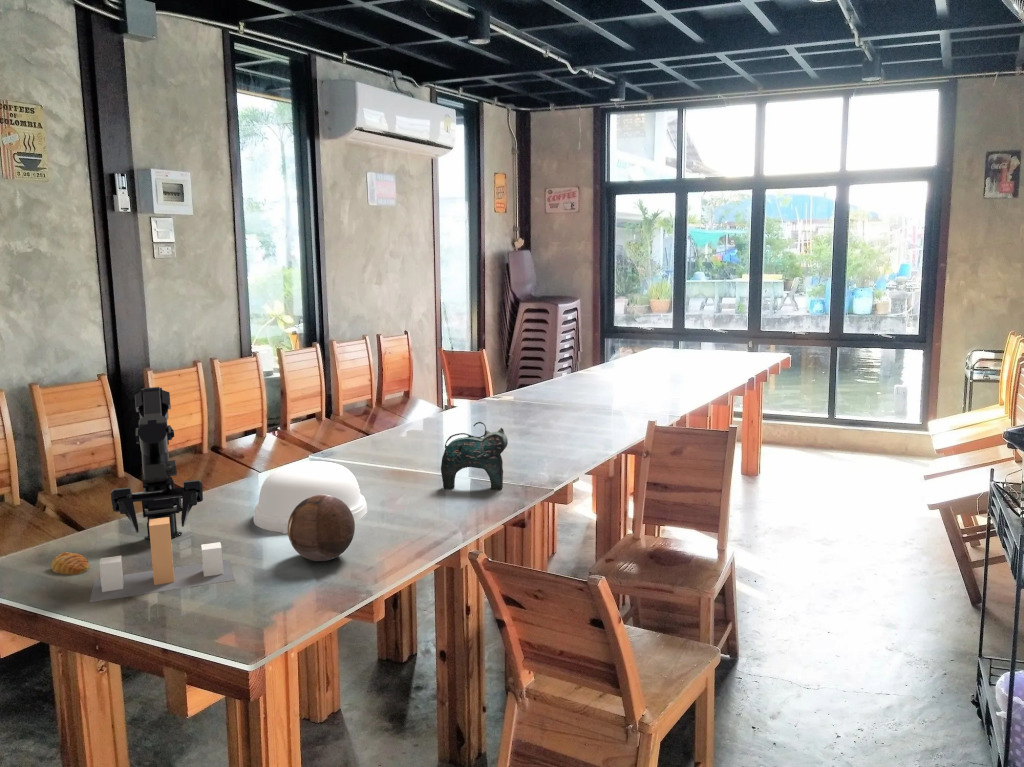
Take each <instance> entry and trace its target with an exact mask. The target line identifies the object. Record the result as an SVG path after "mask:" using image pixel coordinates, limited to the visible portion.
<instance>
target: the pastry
mask: <svg viewBox="0 0 1024 767" xmlns="http://www.w3.org/2000/svg"><path fill="white" fill-rule="evenodd" d="M50 569H51V571H52V572H53V573H55V574H61V575H69V576H75V575H76V576H77V575H81V574H85V573H87V572H88V571H89V570H90V569H91V567H90V563H89V561H88V560H87V558H86V557H85V556H83V555H82V554H79V553H78V552H77V553H74V552H73V553H72V552H69V551H67V552H61V553H59V554H58V555H57V556H55V557H54V558H53V559H52V561H51V563H50Z"/></svg>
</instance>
